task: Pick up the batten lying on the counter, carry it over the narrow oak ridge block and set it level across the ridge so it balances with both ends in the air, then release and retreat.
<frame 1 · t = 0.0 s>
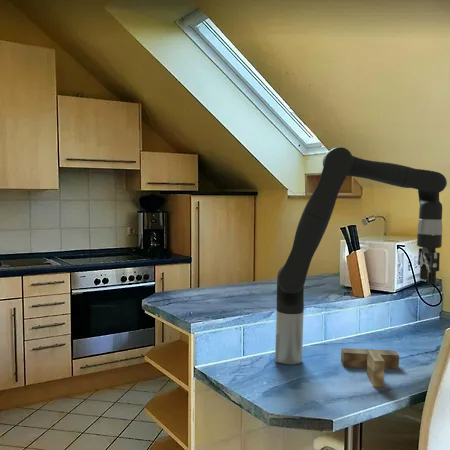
hand: (427, 281, 160), 29 cm above the table, tool pointing down, fingers open, 8 cm apart
fulcrum: (374, 380, 149), on the table
batten: (369, 366, 162), on the table
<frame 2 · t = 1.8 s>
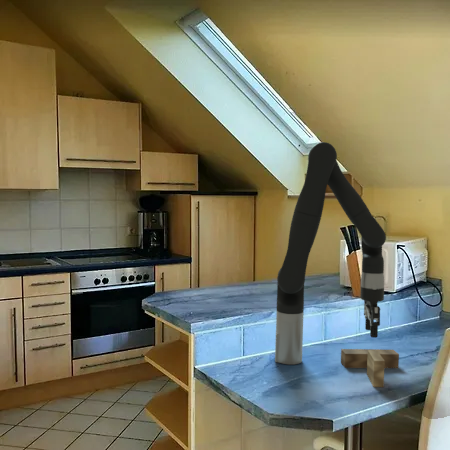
hand: (371, 333, 162), 11 cm above the table, tool pointing down, fingers open, 8 cm apart
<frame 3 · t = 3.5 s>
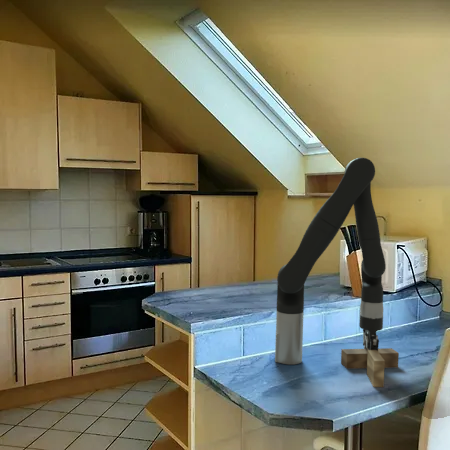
hand: (369, 363, 162), 1 cm above the table, tool pointing down, fingers closed on batten, 5 cm apart
batten: (369, 365, 162), on the table, touching gripper
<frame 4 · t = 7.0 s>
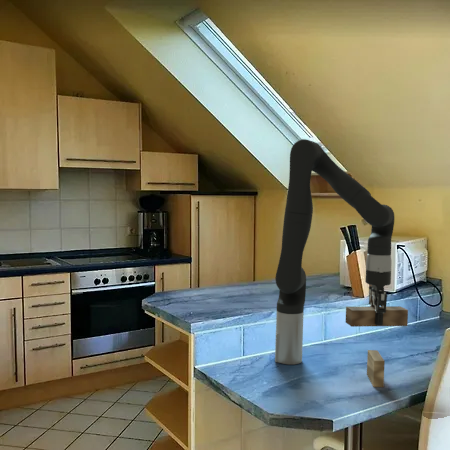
hand: (376, 322, 150), 18 cm above the table, tool pointing down, fingers closed on batten, 5 cm apart
batten: (376, 324, 150), point 17 cm above the table, touching gripper
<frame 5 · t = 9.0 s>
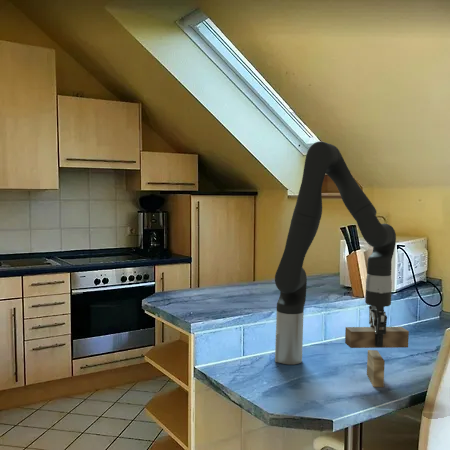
hand: (376, 343, 148), 12 cm above the table, tool pointing down, fingers closed on batten, 5 cm apart
batten: (376, 345, 148), point 11 cm above the table, touching gripper
when the fingers open (9 cm above the table, at t = 10.5 s): batten stays where it is, resting on fulcrum.
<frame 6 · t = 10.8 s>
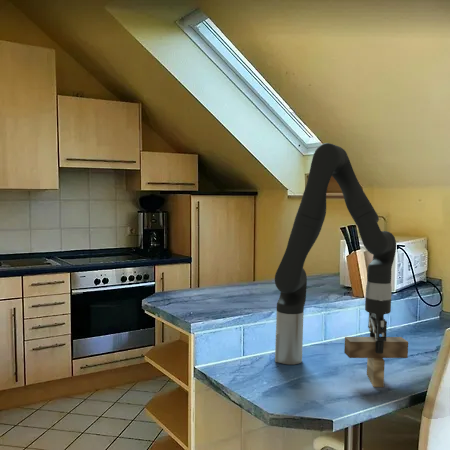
hand: (376, 348, 148), 10 cm above the table, tool pointing down, fingers open, 8 cm apart
batten: (375, 355, 148), point 8 cm above the table, touching fulcrum
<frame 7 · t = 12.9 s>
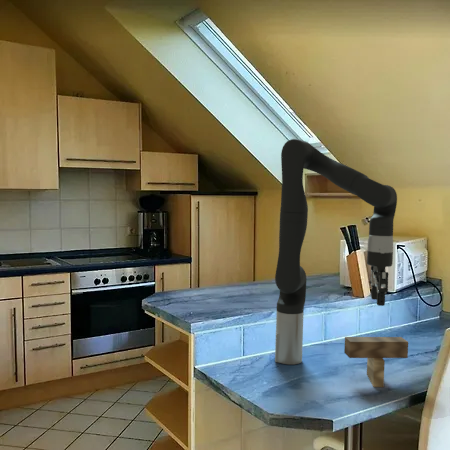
hand: (377, 302, 148), 24 cm above the table, tool pointing down, fingers open, 8 cm apart
nothing on the table moved.
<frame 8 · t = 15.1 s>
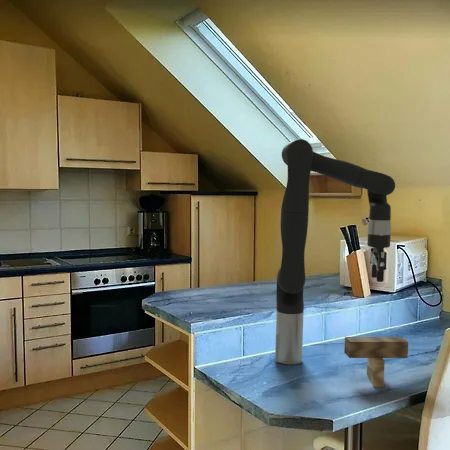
hand: (377, 279, 167), 28 cm above the table, tool pointing down, fingers open, 8 cm apart
nothing on the table moved.
at the end: batten inside the target area on the fulcrum (0.1 cm from its centre), point 8.0 cm above the fulcrum's base; batten touching fulcrum; the gripper is holding nothing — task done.
